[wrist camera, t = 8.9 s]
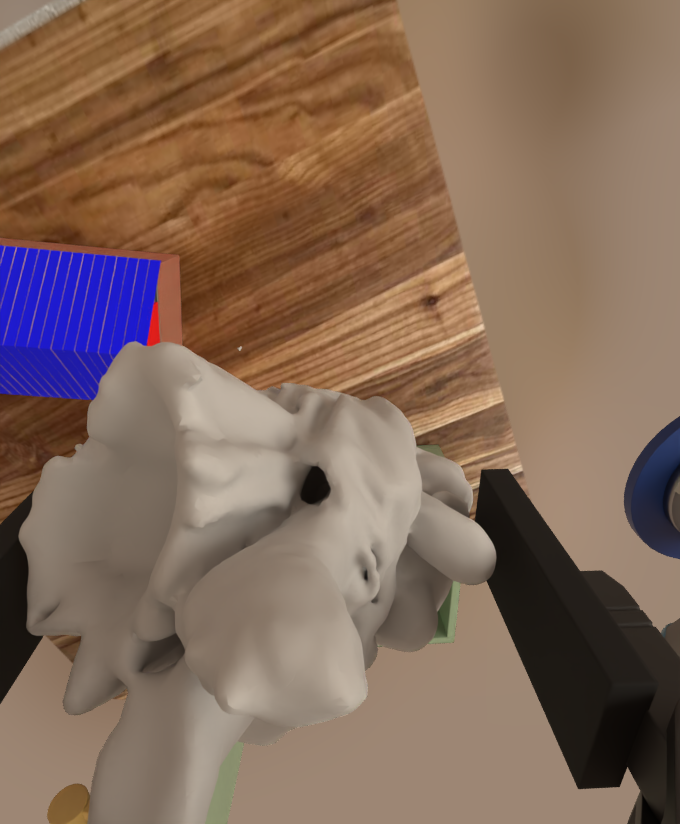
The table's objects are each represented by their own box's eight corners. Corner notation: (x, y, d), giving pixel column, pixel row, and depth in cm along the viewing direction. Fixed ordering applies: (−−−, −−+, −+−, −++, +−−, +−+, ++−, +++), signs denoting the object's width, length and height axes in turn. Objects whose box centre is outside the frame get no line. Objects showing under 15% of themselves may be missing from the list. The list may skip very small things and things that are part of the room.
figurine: (254, 1006, 3) (680, 737, 11) (186, 187, 9) (489, 403, 17) (-134, 1021, 6) (398, 813, 14) (8, 434, 13) (326, 516, 20)
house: (-58, 228, 40) (-191, 239, 30) (182, 251, 42) (138, 269, 32) (-28, 362, 45) (-133, 413, 35) (187, 378, 47) (149, 431, 36)
